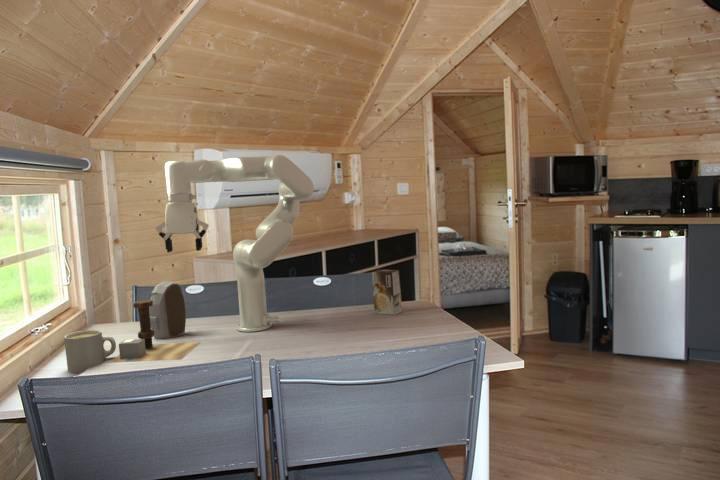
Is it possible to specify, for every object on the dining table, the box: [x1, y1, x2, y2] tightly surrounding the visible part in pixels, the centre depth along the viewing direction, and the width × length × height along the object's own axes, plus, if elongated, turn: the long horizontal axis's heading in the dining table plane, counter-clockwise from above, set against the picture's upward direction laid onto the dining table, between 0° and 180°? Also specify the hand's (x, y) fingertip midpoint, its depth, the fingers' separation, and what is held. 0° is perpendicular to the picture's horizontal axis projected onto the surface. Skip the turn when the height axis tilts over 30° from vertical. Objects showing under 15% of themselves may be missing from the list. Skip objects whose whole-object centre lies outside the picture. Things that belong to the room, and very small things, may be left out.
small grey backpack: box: [148, 280, 187, 340], centre depth 201 cm, size 15×8×20 cm, turn 163°
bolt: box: [133, 299, 154, 349], centre depth 183 cm, size 6×5×15 cm
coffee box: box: [371, 268, 403, 316], centre depth 220 cm, size 9×6×16 cm
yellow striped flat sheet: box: [107, 341, 202, 363], centre depth 179 cm, size 22×18×2 cm
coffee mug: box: [63, 329, 117, 374], centre depth 173 cm, size 13×10×10 cm
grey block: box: [118, 338, 146, 359], centre depth 176 cm, size 6×4×5 cm
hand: (184, 251), depth 193 cm, fingers open, 9 cm apart
